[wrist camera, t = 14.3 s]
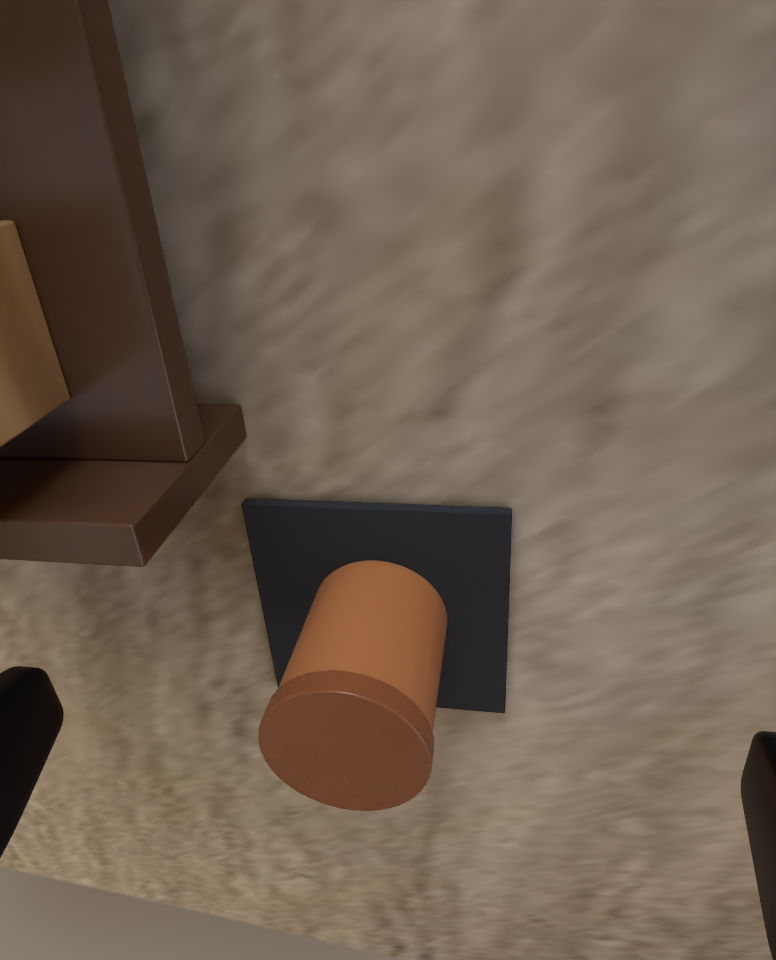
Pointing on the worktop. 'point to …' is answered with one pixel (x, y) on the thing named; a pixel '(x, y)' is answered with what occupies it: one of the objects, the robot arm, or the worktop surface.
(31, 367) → the oak block
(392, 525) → the black rubber mat
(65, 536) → the walnut shelf
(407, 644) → the copper tin
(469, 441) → the worktop surface
